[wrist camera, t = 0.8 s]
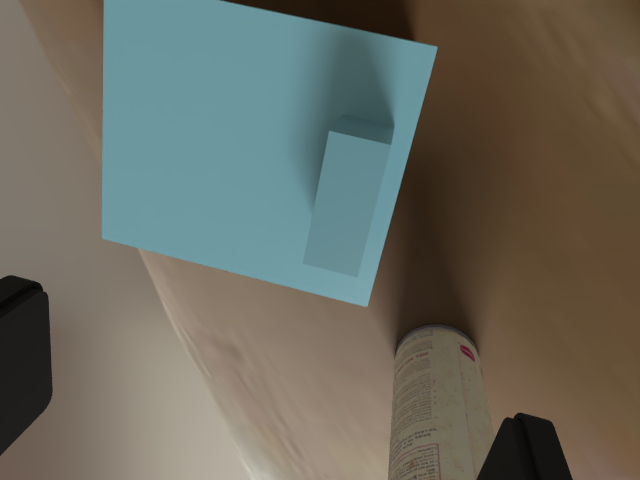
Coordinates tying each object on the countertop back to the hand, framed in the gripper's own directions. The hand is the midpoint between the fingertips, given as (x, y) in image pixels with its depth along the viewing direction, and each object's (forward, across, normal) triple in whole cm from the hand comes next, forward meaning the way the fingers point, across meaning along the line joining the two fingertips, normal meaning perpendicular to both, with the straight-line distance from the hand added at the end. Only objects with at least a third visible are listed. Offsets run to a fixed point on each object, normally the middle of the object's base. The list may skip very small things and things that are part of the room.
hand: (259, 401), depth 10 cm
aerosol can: (+28, -10, +17) cm, 34 cm away
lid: (+18, +5, 0) cm, 19 cm away
